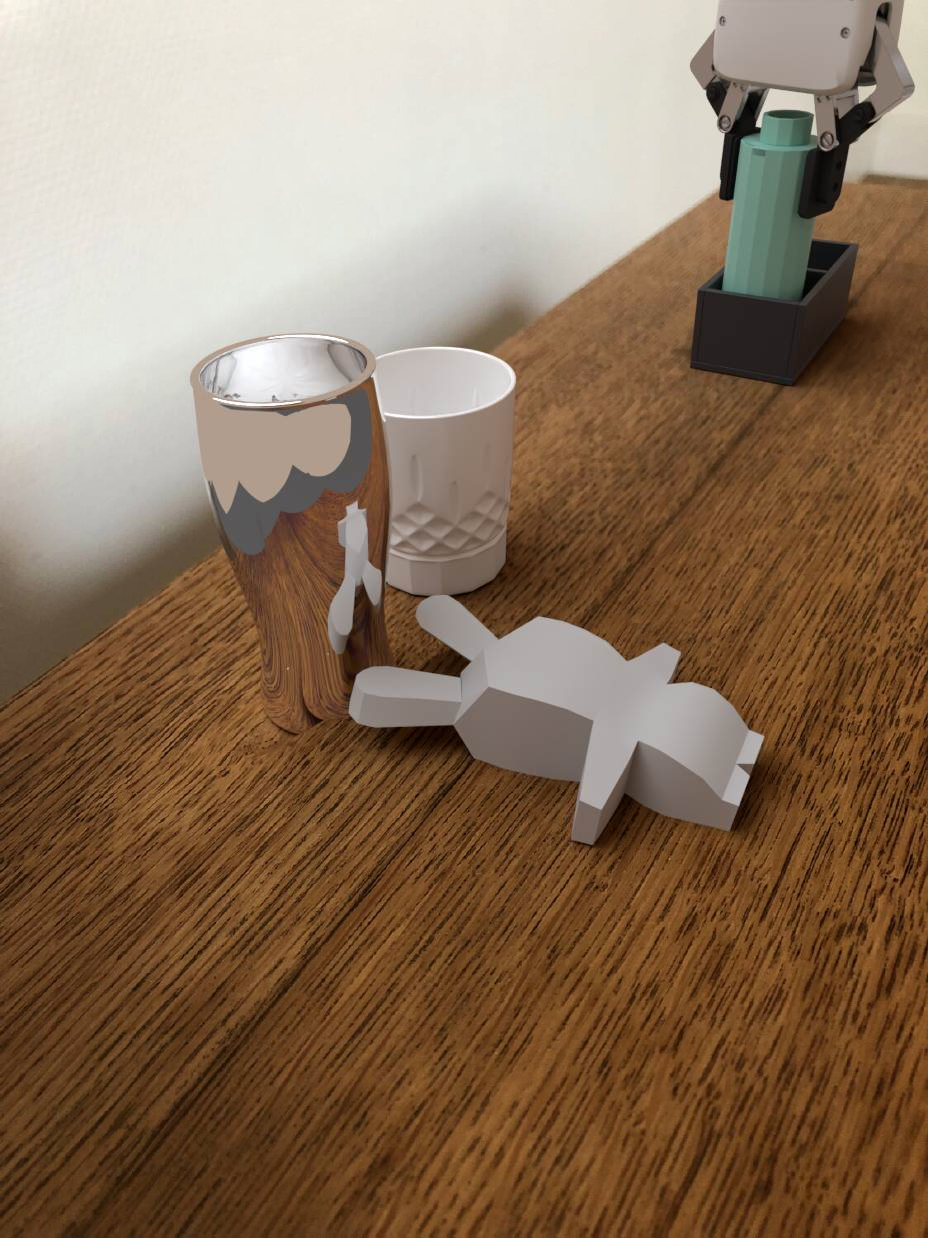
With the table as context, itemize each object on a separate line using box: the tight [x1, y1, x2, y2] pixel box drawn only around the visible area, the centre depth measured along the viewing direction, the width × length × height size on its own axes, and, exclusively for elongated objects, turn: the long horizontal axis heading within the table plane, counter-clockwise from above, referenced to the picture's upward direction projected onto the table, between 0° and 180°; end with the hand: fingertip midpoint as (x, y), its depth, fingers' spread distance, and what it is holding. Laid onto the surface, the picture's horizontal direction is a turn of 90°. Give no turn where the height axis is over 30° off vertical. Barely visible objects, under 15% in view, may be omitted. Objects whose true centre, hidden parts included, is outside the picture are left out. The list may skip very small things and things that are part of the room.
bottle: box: [722, 109, 818, 302], centre depth 66 cm, size 5×5×12 cm
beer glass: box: [189, 332, 399, 735], centre depth 40 cm, size 7×7×15 cm
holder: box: [689, 237, 860, 387], centre depth 73 cm, size 7×14×6 cm, turn 150°
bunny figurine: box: [349, 595, 765, 846], centre depth 40 cm, size 10×5×15 cm
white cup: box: [375, 346, 517, 597], centre depth 50 cm, size 8×8×10 cm
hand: (775, 201), depth 66 cm, fingers closed on bottle, 5 cm apart
